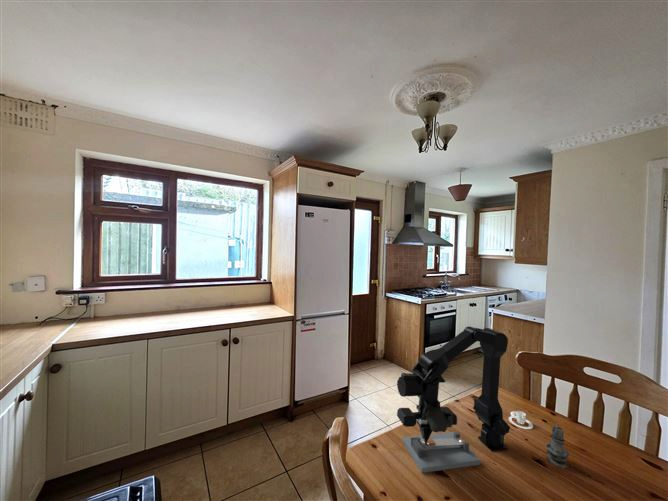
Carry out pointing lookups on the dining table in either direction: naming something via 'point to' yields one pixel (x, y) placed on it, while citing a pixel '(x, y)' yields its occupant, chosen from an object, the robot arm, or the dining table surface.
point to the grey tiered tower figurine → (557, 448)
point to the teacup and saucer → (520, 419)
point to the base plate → (440, 454)
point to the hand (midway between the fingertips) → (424, 442)
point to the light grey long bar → (442, 443)
